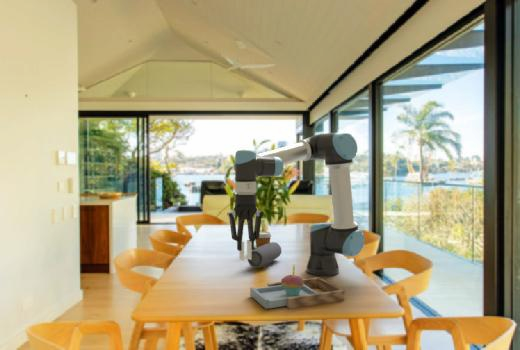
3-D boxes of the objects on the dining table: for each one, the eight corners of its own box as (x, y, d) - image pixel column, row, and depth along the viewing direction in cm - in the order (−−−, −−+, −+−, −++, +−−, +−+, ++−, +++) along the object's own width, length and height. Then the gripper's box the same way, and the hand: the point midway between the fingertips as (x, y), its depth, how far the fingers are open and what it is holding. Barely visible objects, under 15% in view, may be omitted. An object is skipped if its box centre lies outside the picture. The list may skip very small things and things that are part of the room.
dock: (318, 285, 162) (318, 277, 162) (345, 300, 144) (345, 290, 144) (267, 292, 153) (267, 283, 153) (289, 308, 135) (289, 298, 135)
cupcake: (307, 296, 143) (307, 264, 143) (285, 299, 141) (285, 266, 141) (298, 289, 152) (298, 259, 151) (277, 291, 149) (277, 260, 149)
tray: (300, 288, 156) (300, 281, 156) (320, 300, 142) (320, 292, 142) (250, 295, 148) (250, 287, 148) (265, 308, 134) (265, 300, 134)
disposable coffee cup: (260, 251, 225) (260, 230, 225) (274, 253, 220) (274, 232, 220) (251, 254, 218) (251, 233, 217) (265, 256, 212) (265, 235, 212)
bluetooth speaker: (266, 258, 208) (266, 240, 207) (282, 260, 204) (282, 241, 203) (246, 269, 187) (246, 248, 187) (263, 271, 183) (263, 250, 183)
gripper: (228, 194, 132) (228, 263, 132) (269, 193, 138) (269, 259, 138) (222, 193, 139) (222, 258, 139) (261, 192, 145) (261, 255, 145)
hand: (245, 259), depth 139 cm, fingers open, 2 cm apart
